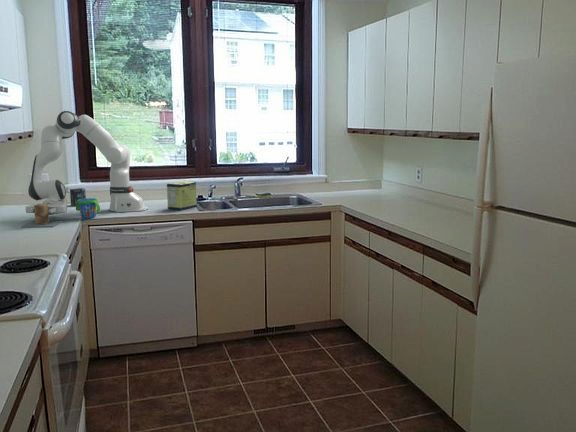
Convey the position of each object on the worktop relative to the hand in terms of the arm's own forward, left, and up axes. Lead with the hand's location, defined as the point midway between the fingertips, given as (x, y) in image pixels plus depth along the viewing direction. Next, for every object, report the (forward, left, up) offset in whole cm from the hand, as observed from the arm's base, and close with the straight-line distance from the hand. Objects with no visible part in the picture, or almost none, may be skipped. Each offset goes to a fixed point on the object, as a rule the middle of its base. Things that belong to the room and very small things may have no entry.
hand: (40, 211), depth 293 cm
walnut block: (0, -1, -7) cm, 7 cm away
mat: (0, -1, -7) cm, 7 cm away
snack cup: (-18, -20, -7) cm, 28 cm away
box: (+1, -62, -7) cm, 62 cm away
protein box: (-66, -49, -8) cm, 83 cm away
